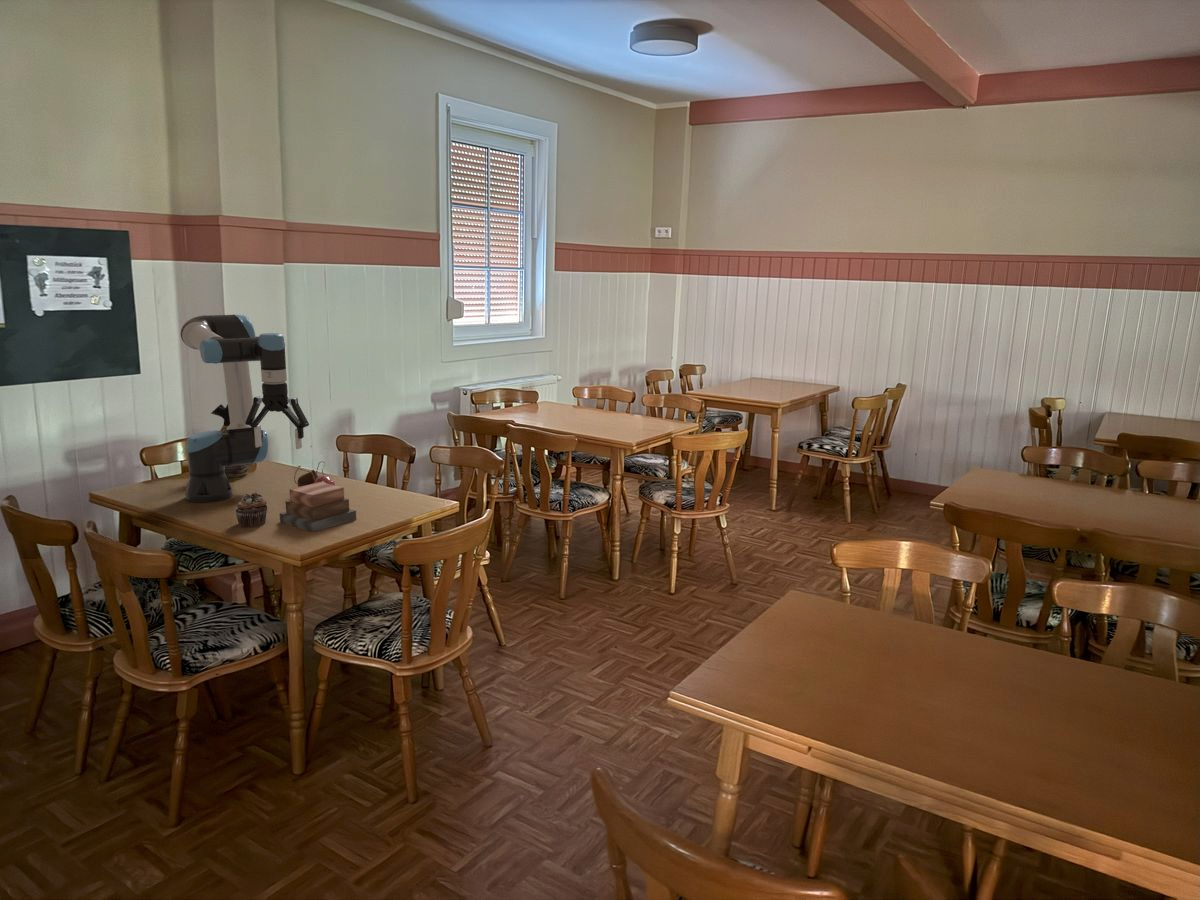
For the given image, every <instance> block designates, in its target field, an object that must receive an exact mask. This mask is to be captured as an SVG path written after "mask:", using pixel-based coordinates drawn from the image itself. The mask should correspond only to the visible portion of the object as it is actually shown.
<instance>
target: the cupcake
mask: <svg viewBox="0 0 1200 900" xmlns="http://www.w3.org/2000/svg"><path fill="white" fill-rule="evenodd" d="M236 507H237V509H235V510H234V513H235V516H236V519H237V523H238V526H239V527H241V528H256V527H260V526H263V525H265V523H266V521H267V512H268V503H267V501H266V500H265V499H264V498H263V496H262V494H260V493H259V494H258V493H257V492H253V493H251V495H250V494H248V493H246V494H245V495H244V496H243V497H242V498H241V500H240V501H238V503H237V504H236Z"/></svg>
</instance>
